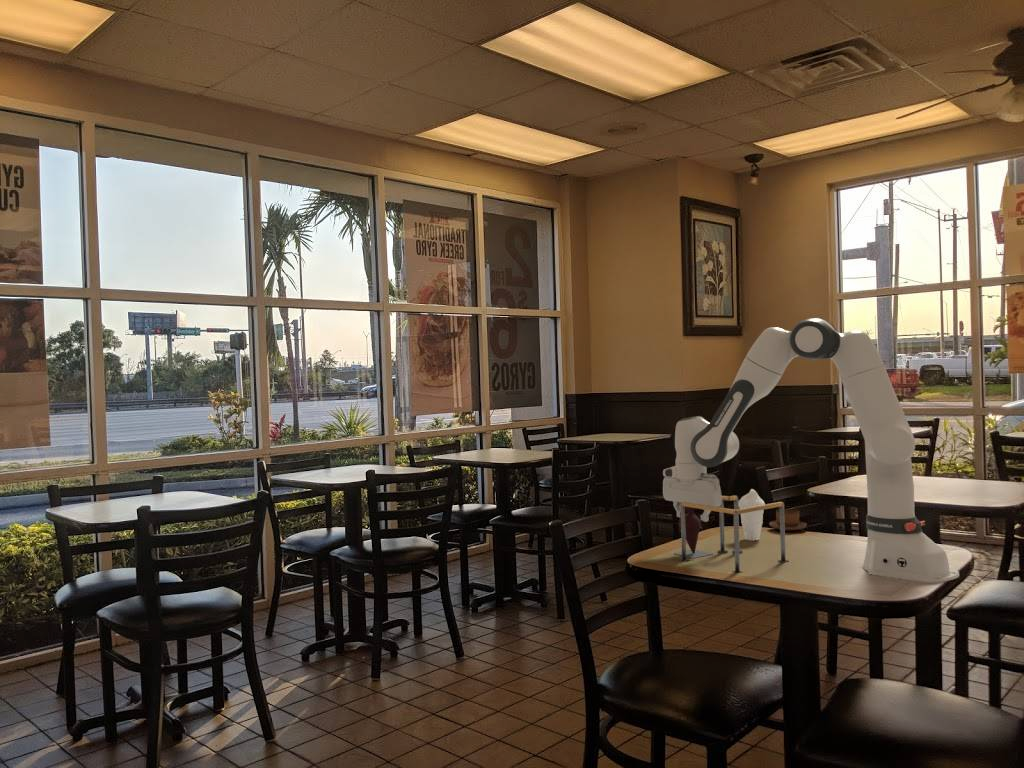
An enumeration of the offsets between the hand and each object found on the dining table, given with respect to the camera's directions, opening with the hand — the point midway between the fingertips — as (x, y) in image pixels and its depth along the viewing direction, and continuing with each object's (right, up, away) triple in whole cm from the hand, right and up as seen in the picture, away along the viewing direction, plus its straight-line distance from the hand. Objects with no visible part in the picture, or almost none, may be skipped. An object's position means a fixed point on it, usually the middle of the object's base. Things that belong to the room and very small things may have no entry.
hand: (692, 519), depth 234 cm
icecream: (0, -10, 0) cm, 10 cm away
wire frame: (+9, -10, -10) cm, 17 cm away
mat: (0, -11, 0) cm, 11 cm away
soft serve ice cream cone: (+23, -10, +19) cm, 32 cm away
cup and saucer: (+40, -9, +34) cm, 53 cm away
